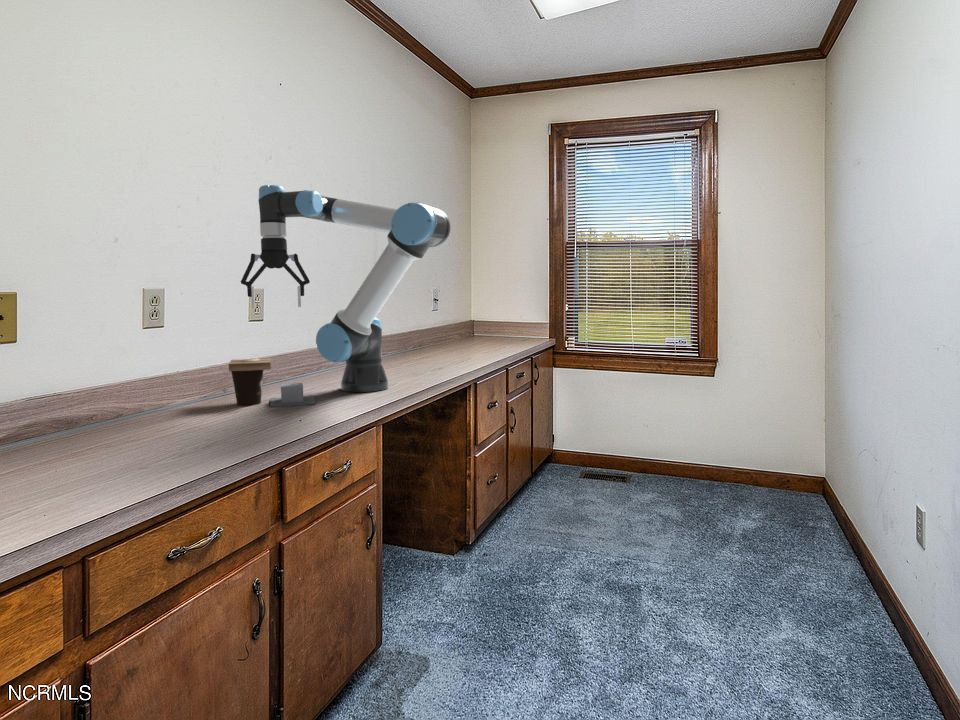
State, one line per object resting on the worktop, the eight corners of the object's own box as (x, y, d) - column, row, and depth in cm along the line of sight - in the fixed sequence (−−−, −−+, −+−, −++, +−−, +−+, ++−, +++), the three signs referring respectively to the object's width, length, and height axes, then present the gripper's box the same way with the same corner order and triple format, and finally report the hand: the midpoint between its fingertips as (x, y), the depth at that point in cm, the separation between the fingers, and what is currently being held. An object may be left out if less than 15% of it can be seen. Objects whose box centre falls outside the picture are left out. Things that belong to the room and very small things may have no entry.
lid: (270, 369, 181) (270, 361, 181) (229, 371, 178) (228, 363, 178) (271, 364, 192) (270, 357, 191) (231, 366, 188) (231, 358, 188)
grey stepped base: (312, 397, 193) (312, 380, 192) (315, 404, 181) (314, 386, 181) (270, 399, 189) (269, 383, 189) (270, 407, 178) (269, 389, 177)
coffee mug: (254, 406, 179) (252, 371, 178) (226, 406, 180) (224, 370, 179) (275, 399, 190) (274, 365, 189) (249, 398, 192) (247, 365, 191)
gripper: (314, 239, 204) (317, 306, 207) (230, 238, 197) (234, 307, 199) (316, 237, 197) (319, 306, 200) (229, 236, 190) (233, 308, 192)
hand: (276, 307), depth 199 cm, fingers open, 13 cm apart
